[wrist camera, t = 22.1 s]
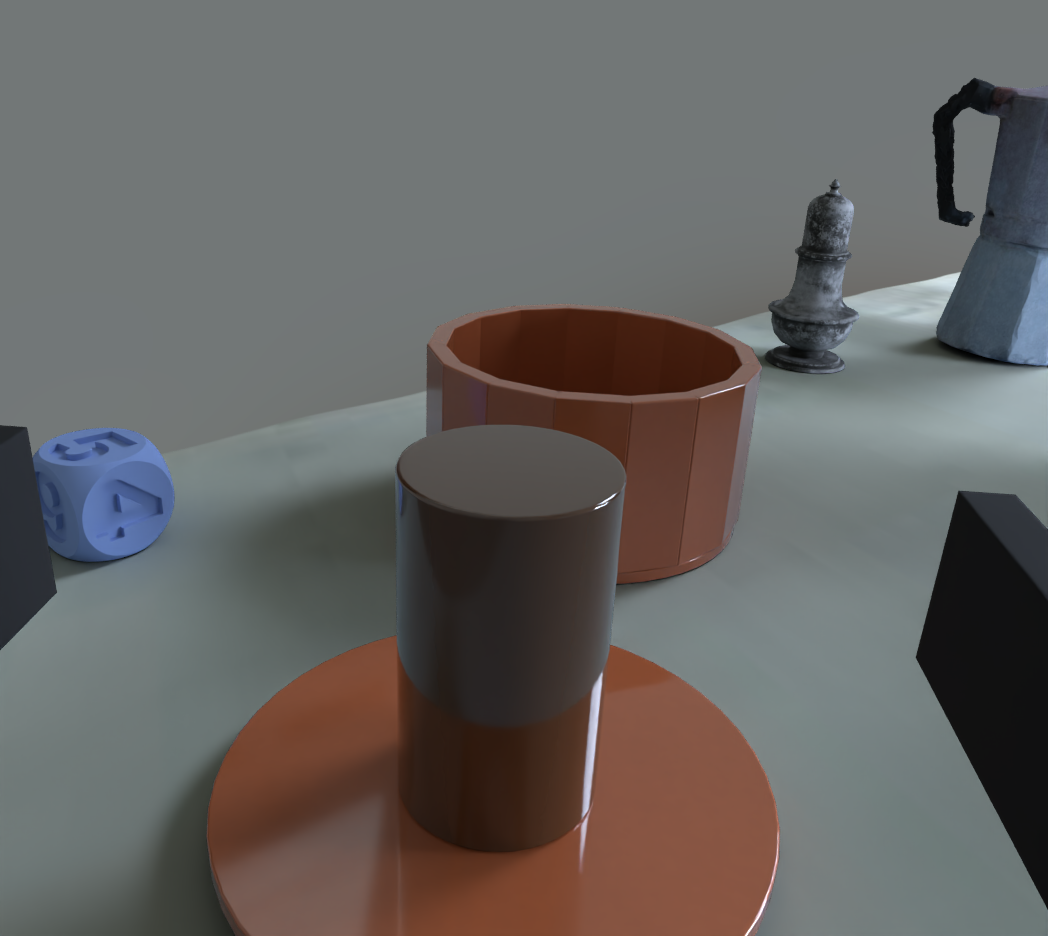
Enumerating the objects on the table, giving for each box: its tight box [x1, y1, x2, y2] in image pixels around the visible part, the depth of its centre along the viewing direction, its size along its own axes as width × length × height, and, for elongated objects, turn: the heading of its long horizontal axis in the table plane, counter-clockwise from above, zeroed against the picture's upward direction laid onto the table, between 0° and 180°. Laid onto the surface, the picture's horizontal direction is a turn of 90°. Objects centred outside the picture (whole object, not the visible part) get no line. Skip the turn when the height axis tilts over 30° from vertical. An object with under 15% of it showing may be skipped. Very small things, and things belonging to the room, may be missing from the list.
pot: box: [426, 304, 762, 584], centre depth 41 cm, size 14×14×8 cm
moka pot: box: [932, 78, 1048, 366], centre depth 66 cm, size 10×15×20 cm, turn 91°
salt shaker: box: [765, 179, 859, 374], centre depth 63 cm, size 6×6×12 cm
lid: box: [206, 425, 780, 936], centre depth 24 cm, size 15×15×10 cm
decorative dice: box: [33, 428, 174, 562], centre depth 37 cm, size 4×4×4 cm
